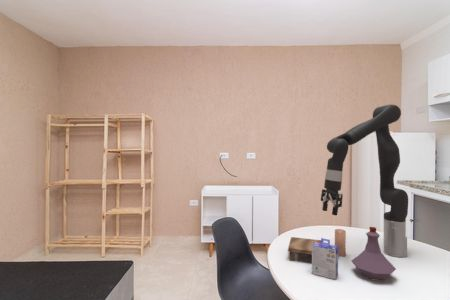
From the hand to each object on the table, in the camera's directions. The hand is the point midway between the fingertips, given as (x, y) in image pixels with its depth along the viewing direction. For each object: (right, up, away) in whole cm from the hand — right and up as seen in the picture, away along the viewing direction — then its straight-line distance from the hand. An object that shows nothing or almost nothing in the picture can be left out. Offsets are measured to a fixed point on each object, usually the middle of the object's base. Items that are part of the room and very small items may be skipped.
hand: (329, 212), depth 121 cm
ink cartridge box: (-8, -23, -15) cm, 28 cm away
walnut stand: (-10, -22, +3) cm, 25 cm away
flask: (+12, -23, -16) cm, 30 cm away
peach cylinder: (+8, -22, +5) cm, 24 cm away
